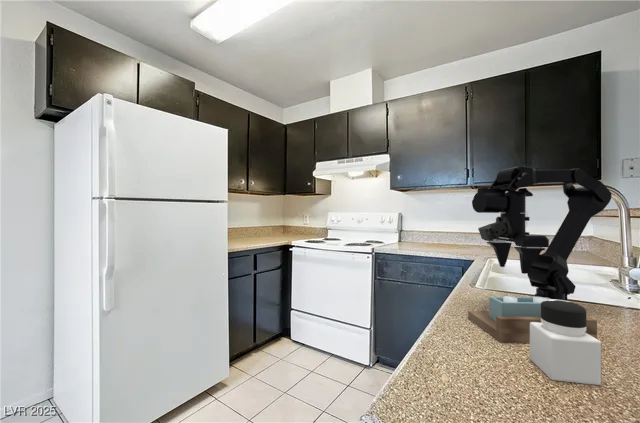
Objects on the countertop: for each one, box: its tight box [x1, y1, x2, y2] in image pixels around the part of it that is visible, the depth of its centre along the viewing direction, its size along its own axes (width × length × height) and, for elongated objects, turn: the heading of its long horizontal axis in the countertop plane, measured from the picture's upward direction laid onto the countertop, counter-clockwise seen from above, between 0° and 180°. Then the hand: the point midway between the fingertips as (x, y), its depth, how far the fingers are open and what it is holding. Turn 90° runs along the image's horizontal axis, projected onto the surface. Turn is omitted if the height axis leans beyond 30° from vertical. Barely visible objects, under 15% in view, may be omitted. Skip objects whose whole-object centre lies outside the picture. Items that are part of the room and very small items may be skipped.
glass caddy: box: [488, 295, 550, 321], centre depth 68 cm, size 14×5×6 cm, turn 88°
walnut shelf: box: [467, 310, 598, 344], centre depth 68 cm, size 20×14×5 cm
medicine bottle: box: [529, 299, 602, 386], centre depth 50 cm, size 7×7×12 cm
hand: (512, 270), depth 79 cm, fingers open, 9 cm apart
